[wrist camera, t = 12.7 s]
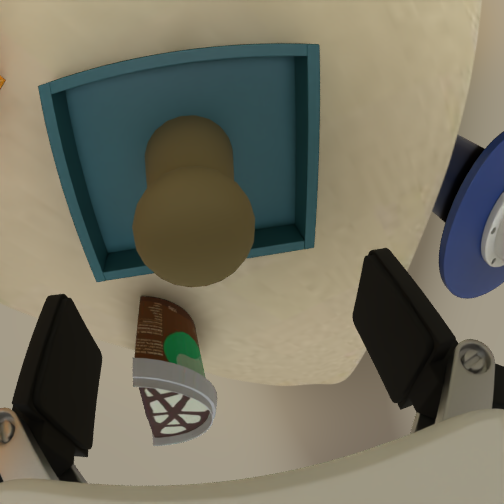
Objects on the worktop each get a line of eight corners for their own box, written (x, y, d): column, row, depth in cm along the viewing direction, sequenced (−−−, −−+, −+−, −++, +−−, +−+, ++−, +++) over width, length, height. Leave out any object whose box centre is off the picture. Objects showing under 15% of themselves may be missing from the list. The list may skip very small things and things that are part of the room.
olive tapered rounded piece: (240, 121, 20) (291, 186, 11) (225, 201, 23) (256, 310, 15) (148, 111, 19) (117, 170, 10) (141, 195, 22) (120, 305, 13)
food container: (205, 365, 35) (217, 445, 27) (151, 366, 34) (154, 447, 26) (209, 282, 28) (225, 379, 20) (139, 283, 27) (131, 382, 19)
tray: (302, 44, 18) (319, 44, 16) (301, 227, 27) (314, 247, 24) (55, 80, 16) (37, 86, 14) (102, 258, 25) (96, 282, 22)
